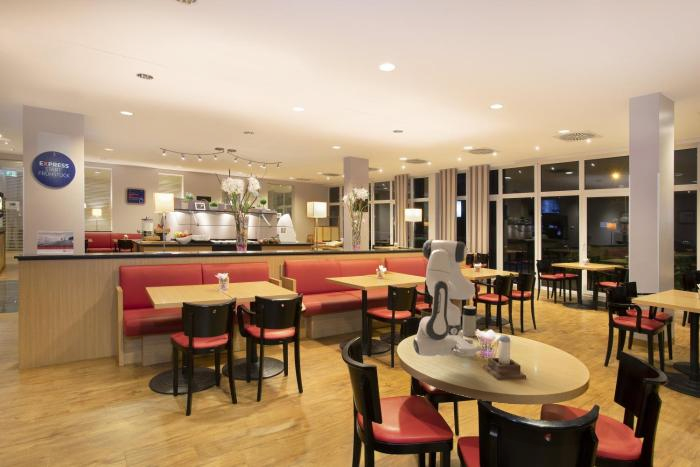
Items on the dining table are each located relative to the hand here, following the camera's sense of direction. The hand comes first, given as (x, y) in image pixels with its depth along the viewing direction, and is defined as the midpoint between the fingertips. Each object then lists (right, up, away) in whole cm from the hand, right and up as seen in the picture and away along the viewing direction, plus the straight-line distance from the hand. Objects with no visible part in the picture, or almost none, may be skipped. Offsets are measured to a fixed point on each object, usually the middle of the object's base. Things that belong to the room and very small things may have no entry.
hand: (476, 345), depth 183 cm
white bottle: (+13, -12, +1) cm, 18 cm away
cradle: (+13, -13, +1) cm, 19 cm away
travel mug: (+16, -12, +63) cm, 67 cm away
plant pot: (-8, -12, +61) cm, 62 cm away
